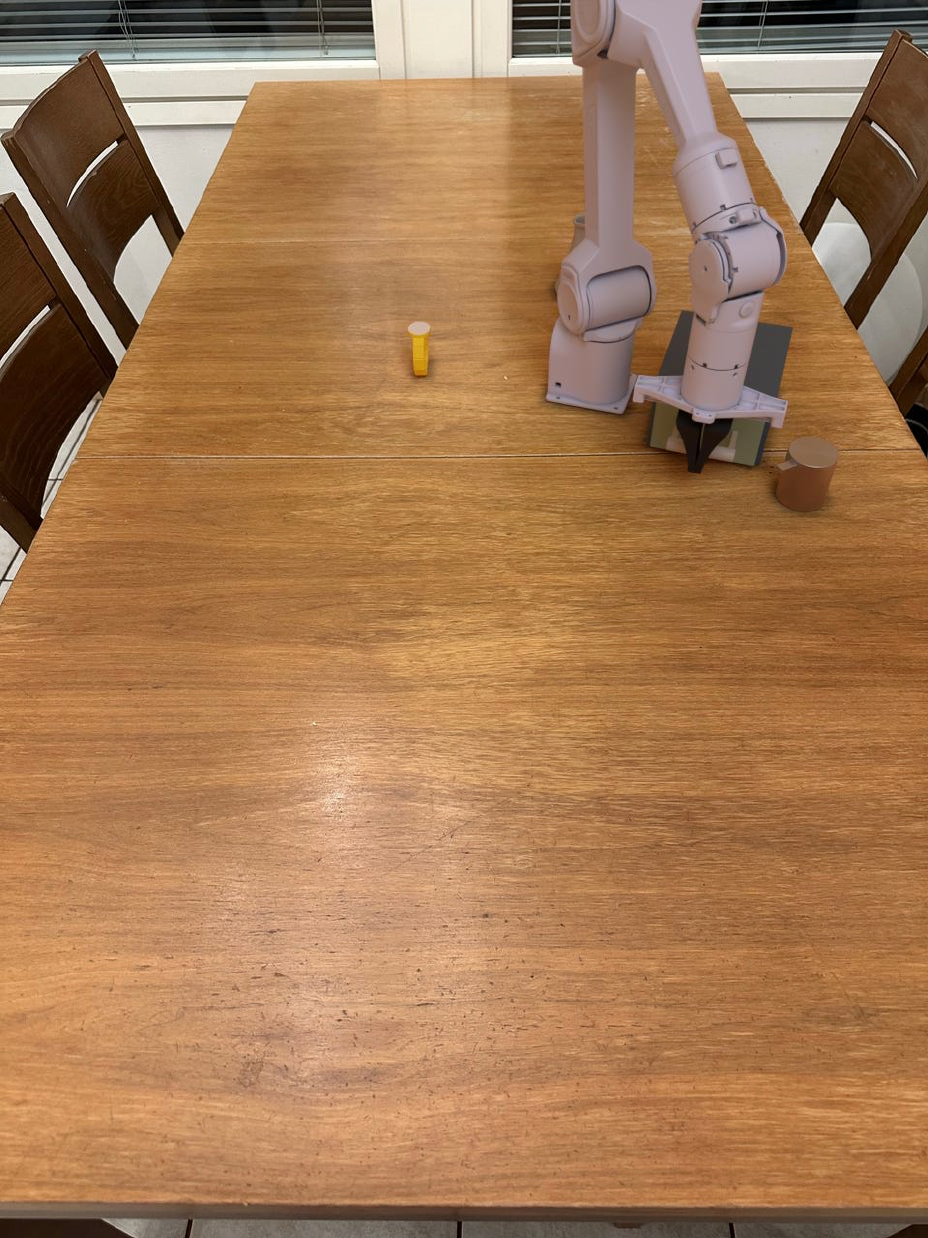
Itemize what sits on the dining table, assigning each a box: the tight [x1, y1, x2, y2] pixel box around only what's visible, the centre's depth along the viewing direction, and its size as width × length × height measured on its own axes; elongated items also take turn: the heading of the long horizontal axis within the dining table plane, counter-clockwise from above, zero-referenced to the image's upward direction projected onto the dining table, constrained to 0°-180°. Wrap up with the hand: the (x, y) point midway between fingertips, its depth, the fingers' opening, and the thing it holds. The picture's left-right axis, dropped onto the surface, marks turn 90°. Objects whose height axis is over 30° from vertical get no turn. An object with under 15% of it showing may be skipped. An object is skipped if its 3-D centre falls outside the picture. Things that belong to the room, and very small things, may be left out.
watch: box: [407, 321, 432, 377], centre depth 116 cm, size 6×3×6 cm, turn 178°
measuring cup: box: [774, 435, 840, 513], centre depth 98 cm, size 7×5×6 cm
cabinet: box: [646, 309, 794, 467], centre depth 107 cm, size 15×13×9 cm
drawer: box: [649, 402, 765, 467], centre depth 104 cm, size 18×11×7 cm, turn 161°
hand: (695, 467), depth 98 cm, fingers closed, pressing on drawer
